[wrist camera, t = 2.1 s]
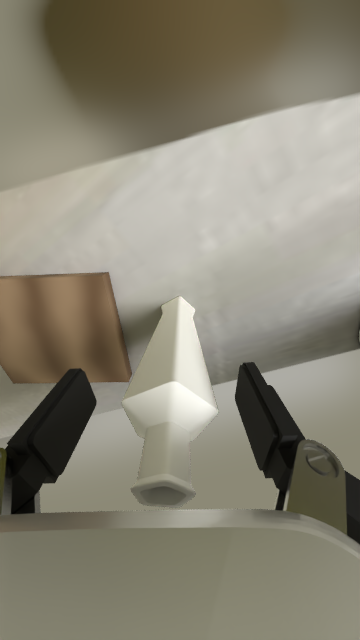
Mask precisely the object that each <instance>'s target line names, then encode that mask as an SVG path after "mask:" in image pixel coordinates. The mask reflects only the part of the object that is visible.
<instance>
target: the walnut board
mask: <svg viewBox="0 0 360 640" xmlns="http://www.w3.org/2000/svg"><path fill="white" fill-rule="evenodd" d="M0 365H1V366H2V368H3V369H4V370H5V372H6V373H7V375H8V376H9V378H10V379H11V381H12V382H13V383H58V382H59V381H60V379H61V378H62V377H63V376H64V375H65V373H66V372H67V371H68V370H69V369H74V368H81V369H82V370H83V371H85V373H86V376H87V378H88V381H89V382H129V380H130V377H131V375H132V372H131V367H130V363H129V359H128V354H127V350H126V346H125V341H124V337H123V333H122V328H121V324H120V320H119V315H118V311H117V307H116V302H115V298H114V293H113V289H112V285H111V280H110V276H109V272H105V273H79V274H53V275H26V276H0Z"/></svg>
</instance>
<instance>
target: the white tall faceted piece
mask: <svg viewBox="0 0 360 640" xmlns="http://www.w3.org/2000/svg"><path fill="white" fill-rule="evenodd" d="M161 309H162V313H163V314H162V317H161V319H160V321H159V323H158V325H157V327H156V329H155V332H154V334H153V336H152V338H151V340H150V342H149V344H148V347H147V349H146V351H145V353H144V355H143V357H142V359H141V362H140V364H139V366H138V368H137V370H136V372H135V374H134V377H133V379H132V381H131V383H130V385H129V387H128V389H127V392H126V394H125V396H124V398H123V400H122V402H121V403H122V406H123V408H124V410H125V412H126V414H127V416H128V418H129V420H130V421H131V423H132V425H133V427H134V429H135V431H136V433H137V435H138V436H140V437H142V438H144V439H145V441H144V446H143V452H142V457H141V462H140V467H139V472H138V477H137V481H136V483H135V484H134V485H133V486H132V487H131V492H132V493H133V495H134V496H135V497H136V498H137V500H138V501H139V503H141V504H143V505H147V506H158V507H170V508H178V507H182V506H183V505H184V504H185V503H187V502H188V501H189V500H191V499H192V498H193V497H195V495H196V493H195V491H194V489H193V487H192V486H191V469H190V442H191V441H194V440H195V439H196V437H198V435H199V434H200V433H201V432H202V431H203V430H204V429H205V428H206V427H207V425H209V424H210V422H211V421H212V420H213V419H214V418H215V417H216V416H217V415H218V413H219V411H218V408H217V404H216V400H215V396H214V393H213V389H212V386H211V382H210V378H209V375H208V371H207V368H206V364H205V360H204V357H203V353H202V350H201V346H200V342H199V339H198V335H197V332H196V328H195V324H194V321H193V315H194V313H195V309H194V308H193V307H192V306H191V305H190V304H189V303H188V302H186V301H185V300H184V299H183V298H182V297H181V296H179V297H176V298H174V299H173V300H171V301H169V302H167V303H165V304H163V305H162V306H161Z"/></svg>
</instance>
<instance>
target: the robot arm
mask: <svg viewBox="0 0 360 640" xmlns="http://www.w3.org/2000/svg"><path fill="white" fill-rule="evenodd" d="M359 342H360V331H359ZM235 401H236V404H237V407H238V410H239V413H240V416H241V419H242V422H243V425H244V427H245V430H246V433H247V436H248V439H249V442H250V445H251V448H252V451H253V454H254V457H255V459H256V463H257V465H258V468H259V469H260V470H263V472H264V475H265V478H273V480H274V483H275V485H276V487H277V488H278V492H277V496H276V500H275V505H274V509H273V510H265V509H203V510H202V509H200V510H147V511H146V510H144V511H100V512H99V511H98V512H61V513H41V512H40V494H39V490H40V488H41V486H42V484H43V483H55V482H56V480H57V478H58V476H59V475H61V474H62V473H63V471H64V469H65V467H66V465H67V463H68V461H69V459H70V457H71V455H72V453H73V451H74V449H75V447H76V445H77V443H78V441H79V439H80V437H81V435H82V433H83V431H84V429H85V427H86V425H87V423H88V421H89V419H90V417H91V415H92V413H93V411H94V409H95V406H96V398H95V396H94V393H93V391H92V388H91V386H90V383H89V381H88V378H87V376H86V373H85V371H83V370H82V369H81V368H74V369H69V370H68V371H67V372H66V373H65V375H64V376H63V377H62V378H61V379H60V381H59V382H58V383H57V384H56V385H55V387H54V388H53V389H52V390H51V391H50V393H49V394H48V395H47V396H46V397H45V399H44V400H43V401H42V402H41V403H40V405H39V406H38V407H37V408H36V409H35V411H34V412H33V413H32V414H31V415H30V417H29V418H28V419H27V420H26V421H25V423H24V424H23V425H22V426H21V427H20V429H19V430H18V431H17V432H16V433H15V435H14V436H13V437H12V438H11V439H10V441H9V442H8V443H7V444H8V446H7V447H6V449H4V448H0V640H360V480H359V479H357V478H356V477H354V476H353V475H351V474H349V473H348V472H346V471H345V470H344V468H343V466H342V464H341V462H340V460H339V459H338V458H337V456H336V455H335V454H334V453H333V452H332V451H331V450H330V449H329V448H327V447H326V446H324V445H323V444H321V443H319V442H317V441H315V440H310V439H307V440H306V439H305V437H304V436H303V434H302V433H301V431H300V429H299V428H298V426H297V425H296V423H295V421H294V420H293V418H292V417H291V415H290V414H289V412H288V410H287V409H286V407H285V406H284V404H283V402H282V401H281V399H280V397H279V396H278V394H277V393H276V391H275V390H274V388H273V387H272V386H271V385H267V383H266V382H265V380H264V378H263V377H262V375H261V373H260V371H259V370H258V368H257V366H256V365H255V363H253V362H249V363H243V365H240V368H239V374H238V380H237V387H236V394H235Z"/></svg>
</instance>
